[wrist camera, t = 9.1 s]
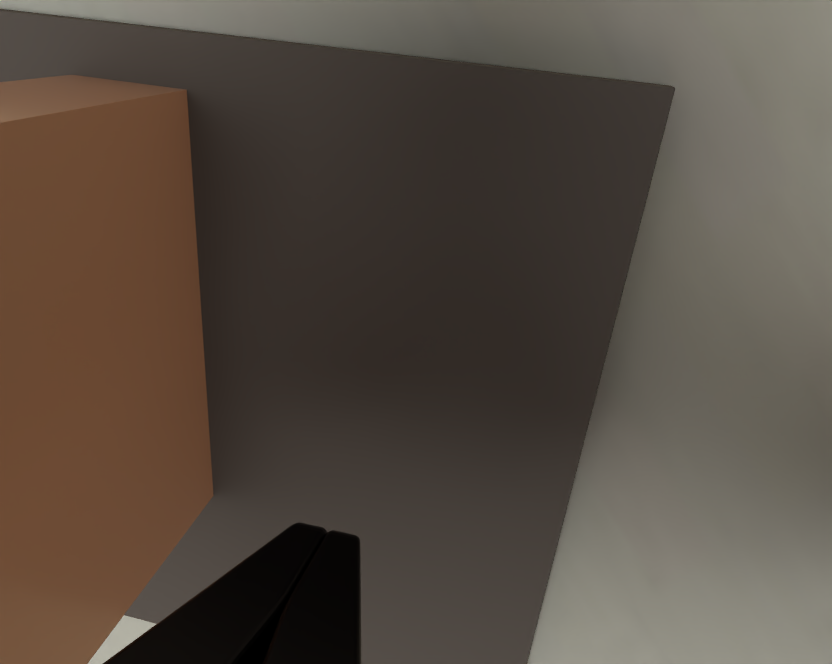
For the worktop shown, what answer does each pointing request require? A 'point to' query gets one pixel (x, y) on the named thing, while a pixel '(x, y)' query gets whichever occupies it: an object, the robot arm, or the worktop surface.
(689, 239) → the worktop surface
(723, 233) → the worktop surface
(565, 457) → the rubber mat
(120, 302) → the terracotta brick
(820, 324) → the worktop surface
